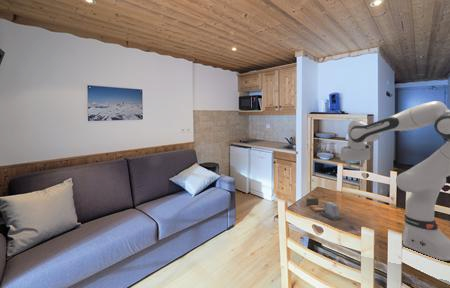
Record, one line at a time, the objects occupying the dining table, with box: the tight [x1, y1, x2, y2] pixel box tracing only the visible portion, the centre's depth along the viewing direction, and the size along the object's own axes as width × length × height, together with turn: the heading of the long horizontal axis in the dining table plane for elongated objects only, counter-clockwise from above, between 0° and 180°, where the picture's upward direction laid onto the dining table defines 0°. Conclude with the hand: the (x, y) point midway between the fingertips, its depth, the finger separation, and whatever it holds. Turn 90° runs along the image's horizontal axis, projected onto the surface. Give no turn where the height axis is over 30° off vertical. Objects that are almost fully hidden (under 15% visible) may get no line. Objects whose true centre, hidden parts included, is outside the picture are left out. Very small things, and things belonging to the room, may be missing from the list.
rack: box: [305, 197, 325, 213], centre depth 160 cm, size 12×9×6 cm
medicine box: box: [324, 201, 339, 217], centre depth 146 cm, size 8×4×9 cm, turn 13°
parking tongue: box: [319, 211, 342, 221], centre depth 146 cm, size 12×7×2 cm, turn 13°
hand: (355, 167), depth 142 cm, fingers open, 8 cm apart
